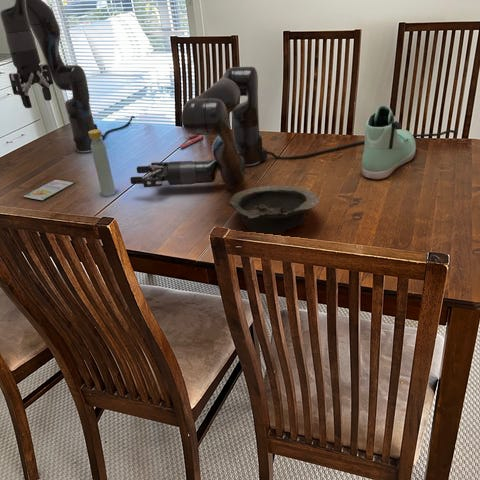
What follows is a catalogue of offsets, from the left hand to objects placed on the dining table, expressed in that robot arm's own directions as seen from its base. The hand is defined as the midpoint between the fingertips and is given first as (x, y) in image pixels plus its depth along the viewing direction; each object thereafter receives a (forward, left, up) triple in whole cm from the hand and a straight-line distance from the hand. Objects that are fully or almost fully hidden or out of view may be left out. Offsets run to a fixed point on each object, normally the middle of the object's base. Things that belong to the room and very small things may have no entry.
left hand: (38, 104), depth 147 cm
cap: (-8, +14, -9) cm, 19 cm away
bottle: (-8, +14, -30) cm, 34 cm away
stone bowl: (-25, +71, -30) cm, 81 cm away
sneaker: (-81, +77, -30) cm, 116 cm away
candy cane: (-57, +2, -30) cm, 64 cm away
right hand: (-15, +22, -24) cm, 36 cm away
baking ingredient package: (+2, -6, -30) cm, 31 cm away
